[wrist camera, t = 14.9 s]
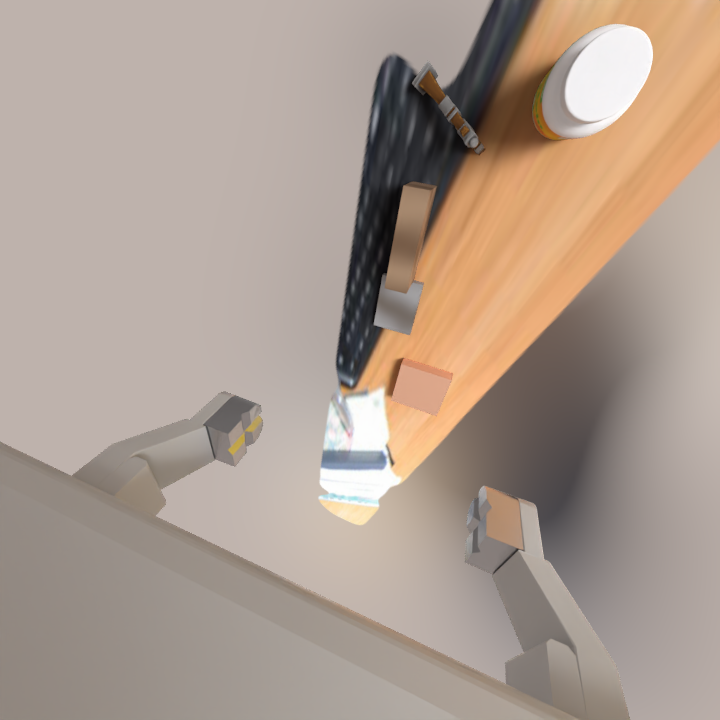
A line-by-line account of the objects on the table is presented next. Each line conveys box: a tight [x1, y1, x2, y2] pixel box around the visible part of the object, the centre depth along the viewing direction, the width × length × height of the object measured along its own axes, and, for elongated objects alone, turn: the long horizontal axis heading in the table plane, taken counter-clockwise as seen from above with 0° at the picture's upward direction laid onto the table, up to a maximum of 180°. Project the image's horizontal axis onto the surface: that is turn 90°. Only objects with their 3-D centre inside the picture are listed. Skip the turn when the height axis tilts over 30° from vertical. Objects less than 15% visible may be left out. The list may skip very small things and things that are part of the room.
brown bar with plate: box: [374, 182, 437, 335], centre depth 34 cm, size 17×5×4 cm, turn 172°
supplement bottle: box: [532, 24, 653, 140], centre depth 21 cm, size 5×5×10 cm
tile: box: [391, 358, 453, 416], centre depth 44 cm, size 2×7×7 cm
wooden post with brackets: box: [412, 61, 485, 155], centre depth 26 cm, size 2×8×4 cm, turn 48°
